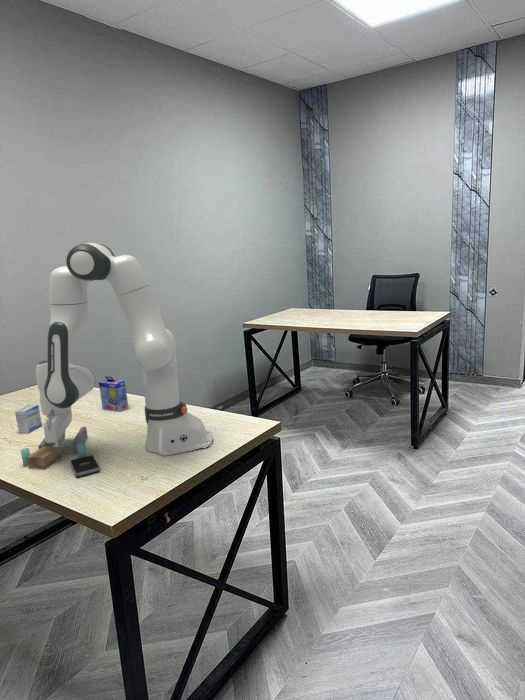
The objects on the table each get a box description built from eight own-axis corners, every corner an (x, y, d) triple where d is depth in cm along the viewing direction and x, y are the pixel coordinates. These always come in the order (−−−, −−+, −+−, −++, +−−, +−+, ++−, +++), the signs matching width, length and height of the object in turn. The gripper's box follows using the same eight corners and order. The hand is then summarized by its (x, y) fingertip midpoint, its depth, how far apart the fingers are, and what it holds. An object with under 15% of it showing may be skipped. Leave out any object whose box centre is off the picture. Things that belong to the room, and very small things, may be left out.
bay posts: (87, 456, 156) (85, 442, 155) (85, 459, 154) (83, 445, 153) (24, 463, 154) (22, 448, 153) (22, 466, 151) (19, 451, 150)
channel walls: (87, 436, 172) (86, 426, 171) (78, 453, 159) (76, 442, 158) (52, 440, 171) (51, 429, 170) (40, 457, 157) (38, 446, 157)
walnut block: (61, 458, 156) (59, 447, 155) (45, 469, 149) (43, 458, 148) (45, 457, 158) (43, 446, 157) (28, 468, 150) (26, 457, 149)
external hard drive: (93, 460, 154) (92, 454, 154) (100, 473, 145) (100, 467, 144) (70, 466, 151) (69, 460, 150) (76, 480, 141) (75, 474, 141)
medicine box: (28, 433, 179) (25, 411, 177) (18, 433, 180) (14, 411, 178) (42, 425, 186) (38, 404, 185) (32, 425, 187) (28, 404, 185)
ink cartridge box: (101, 409, 201) (97, 376, 198) (111, 405, 206) (106, 372, 202) (119, 412, 196) (115, 378, 193) (129, 407, 201) (124, 374, 198)
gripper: (57, 416, 149) (63, 457, 152) (72, 395, 169) (78, 432, 172) (36, 418, 149) (43, 459, 152) (53, 397, 168) (59, 434, 171)
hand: (61, 445), depth 162 cm, fingers closed
